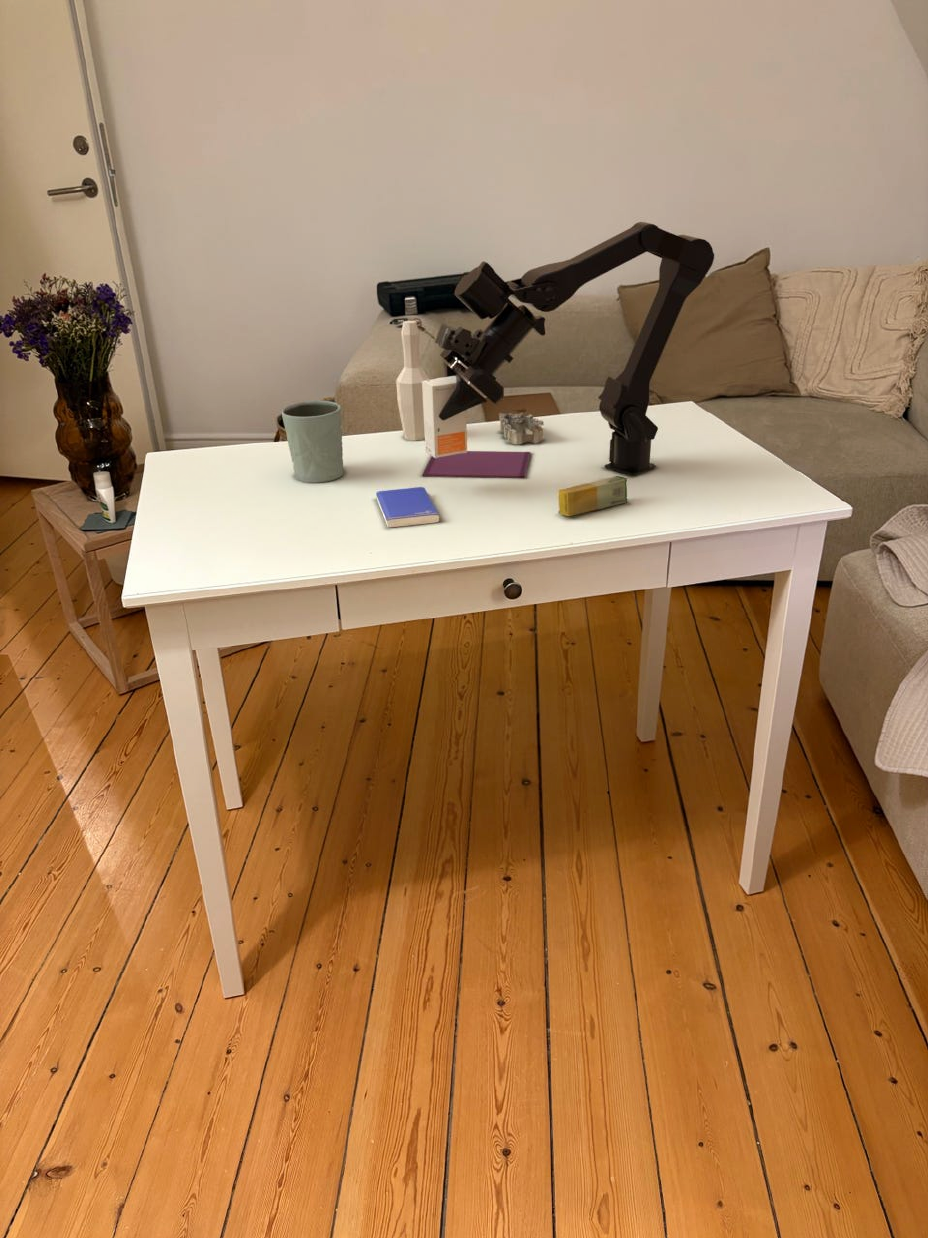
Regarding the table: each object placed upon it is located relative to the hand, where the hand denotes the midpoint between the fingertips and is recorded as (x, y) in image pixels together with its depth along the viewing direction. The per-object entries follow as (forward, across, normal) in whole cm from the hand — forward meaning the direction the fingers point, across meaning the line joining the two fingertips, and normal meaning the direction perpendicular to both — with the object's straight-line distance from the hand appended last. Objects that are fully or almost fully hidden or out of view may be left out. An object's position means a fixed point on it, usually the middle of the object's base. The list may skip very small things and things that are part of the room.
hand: (437, 414), depth 157 cm
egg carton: (-6, -24, +25) cm, 35 cm away
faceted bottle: (+8, -31, +11) cm, 34 cm away
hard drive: (+15, +7, +4) cm, 17 cm away
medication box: (-5, +16, +24) cm, 30 cm away
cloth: (+3, -11, +16) cm, 20 cm away
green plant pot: (+23, -16, -4) cm, 28 cm away
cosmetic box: (+4, 0, +6) cm, 7 cm away
